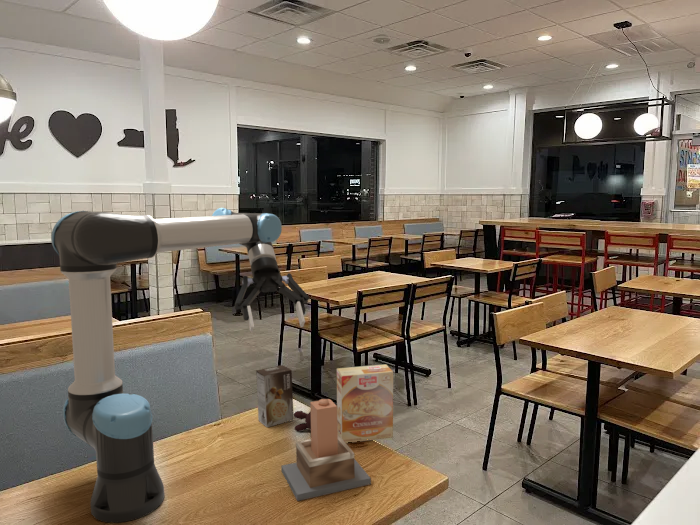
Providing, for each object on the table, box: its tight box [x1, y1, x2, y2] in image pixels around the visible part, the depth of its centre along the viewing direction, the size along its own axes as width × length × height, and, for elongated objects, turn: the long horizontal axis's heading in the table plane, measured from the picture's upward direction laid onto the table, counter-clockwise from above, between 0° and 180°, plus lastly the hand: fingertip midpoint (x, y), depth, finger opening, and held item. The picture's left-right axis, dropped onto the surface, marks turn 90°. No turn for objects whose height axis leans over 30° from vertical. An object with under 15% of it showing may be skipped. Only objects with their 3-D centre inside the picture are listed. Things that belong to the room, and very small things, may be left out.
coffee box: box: [255, 364, 295, 428], centre depth 159 cm, size 9×6×16 cm
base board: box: [280, 458, 372, 502], centre depth 127 cm, size 18×14×2 cm
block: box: [309, 398, 338, 458], centre depth 126 cm, size 5×5×13 cm
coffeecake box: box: [336, 364, 394, 444], centre depth 148 cm, size 15×7×20 cm, turn 103°
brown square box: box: [295, 435, 355, 488], centre depth 127 cm, size 11×11×6 cm
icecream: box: [293, 410, 311, 432], centre depth 152 cm, size 7×7×15 cm
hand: (278, 327), depth 138 cm, fingers open, 13 cm apart
